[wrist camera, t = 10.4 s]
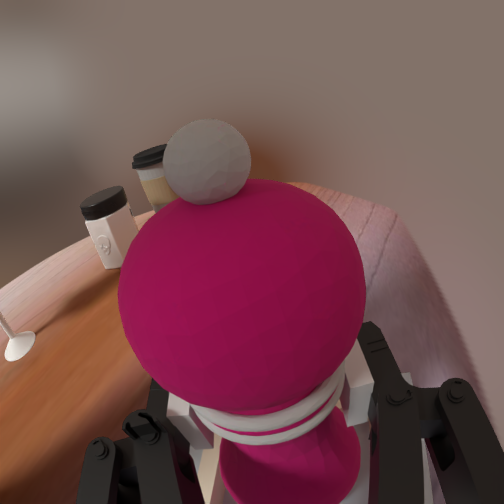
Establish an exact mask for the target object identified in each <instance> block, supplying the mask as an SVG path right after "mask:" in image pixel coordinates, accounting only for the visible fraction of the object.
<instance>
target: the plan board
mask: <svg viewBox="0 0 504 504" xmlns="http://www.w3.org/2000/svg"><path fill="white" fill-rule="evenodd" d="M401 374H402V376H403V378H404V379H405V381H407V382H408V383H409V384H410V385H412V386H413V383H412V379H411V375H410V372H407V373H401ZM335 406H337V407H338V408H339V409H340V410H341V411H342V412H343V410H342V406H341V402H340V399H339V400H338V402H337V404H336V405H335ZM353 427H354V429H355V431H356V433H357V436H358V438H359V442H360V447H361V463H360V470H359V474H358V477H357V480H356V482H355V484H354V486H353V488H352V489H351V491H350V492H349V493H348V495H347V496H346V497H345V498H344V499H343V500H342V501H341V502H340V503H339V504H368V497H369V477H370V440H368V438H369V434H370V430H371V423H370V420H369V417H368V419H367V422H364V423H361V424H357V425H353ZM221 439H222V437H221V436H219V435H217V434H216V433H214V449H200V450H194V448H193V447H192V446H191V445H190V452H189V454H190V455H191V456H192V458H193V460H194V464H195V468H196V472H197V476H198V480H199V483H200V487H201V491H202V494H203V498H204V501H205V504H238V503H237V502H236V501H235V500H234V499H233V497H232V496H231V494H230V493H229V491H228V490H227V488H226V487H225V485H224V482H223V480H222V477H221V473H220V465H219V450H220V443H221ZM421 440H422V453H423V469H424V504H433V496H432V487H431V479H430V472H429V465H428V459H427V452H426V446H425V441H424V438H421Z"/></svg>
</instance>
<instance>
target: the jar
mask: <svg viewBox="0 0 504 504" xmlns="http://www.w3.org/2000/svg"><path fill="white" fill-rule="evenodd" d="M80 208H81V210H82V214H83V216H84V218H85V220H86V222H85V223H86V226H87V228H88V231H89V233H90V236H91V238H92V240H93V242H94V245H95V247H96V249H97V251H98V254H99V256H100V258H101V260H102V262H103V264H104V266H105V268H106V269H113V268H121V266H122V264H123V261H124V259H125V256H126V254H127V251H128V249H129V247H130V244H131V242H132V241H133V239H134V238H135V236H136V235H137V234H138V232H139V230H138V227H137V225H136V222H135V219H134V217H133V214H132V211H131V209H130V206H129V203H128V200H127V198H126V194H125V191H124V189H123V187H121V186H115V187H111V188H107V189H105V190H102V191H100V192H98V193H95V194H93V195H92V196H90V197H88V198H87V199H85V200H84V201H83V202H82V203H81V205H80Z"/></svg>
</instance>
